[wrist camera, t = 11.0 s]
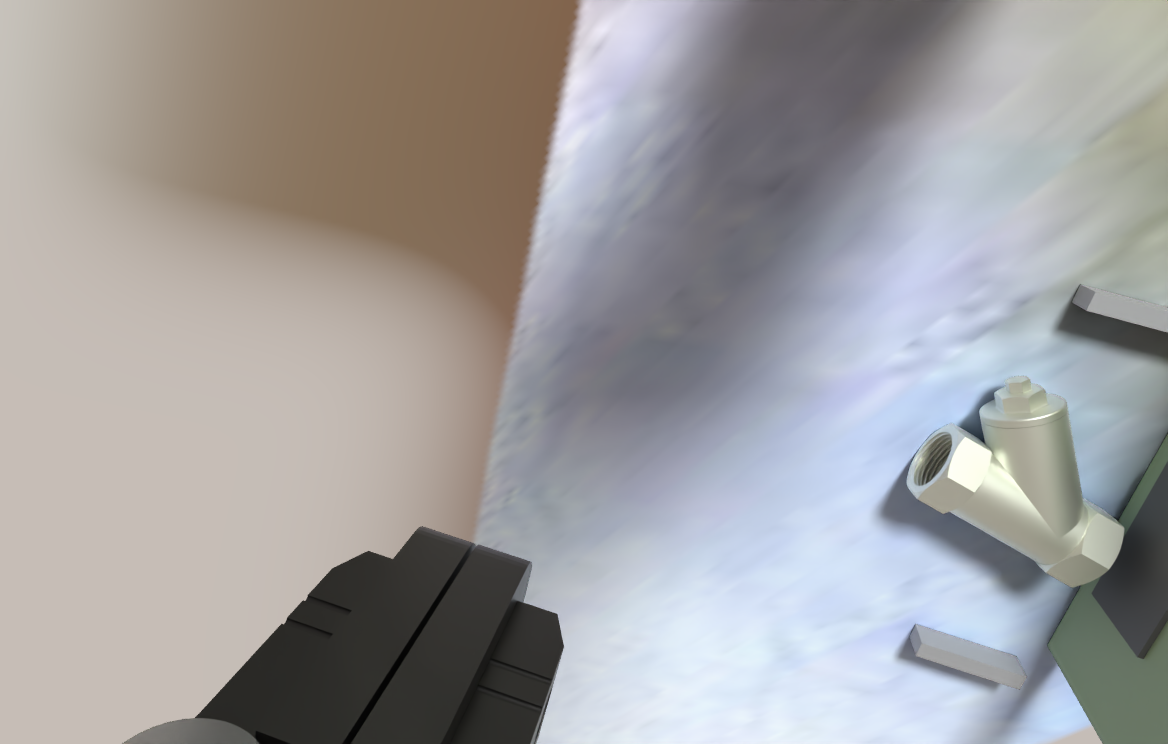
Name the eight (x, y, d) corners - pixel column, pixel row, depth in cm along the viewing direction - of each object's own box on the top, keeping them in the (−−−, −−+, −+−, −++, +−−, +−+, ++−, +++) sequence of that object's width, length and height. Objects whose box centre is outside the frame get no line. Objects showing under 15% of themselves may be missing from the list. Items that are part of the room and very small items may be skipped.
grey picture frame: (1080, 284, 32) (1216, 353, 23) (1255, 330, 31) (1470, 421, 22) (909, 636, 39) (961, 801, 29) (1050, 681, 38) (1149, 865, 29)
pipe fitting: (988, 353, 34) (898, 472, 36) (1021, 375, 30) (920, 506, 32) (1144, 442, 34) (1046, 557, 36) (1198, 475, 30) (1085, 601, 32)
